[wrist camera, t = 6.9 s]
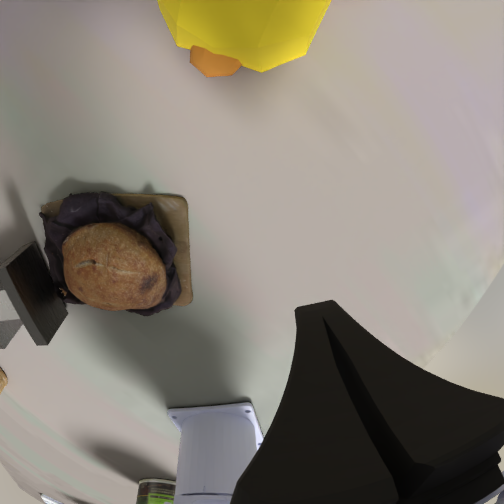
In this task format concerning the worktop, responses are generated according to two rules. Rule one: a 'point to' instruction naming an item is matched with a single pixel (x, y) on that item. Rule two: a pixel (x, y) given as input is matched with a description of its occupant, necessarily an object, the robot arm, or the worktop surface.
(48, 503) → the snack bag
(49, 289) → the grey angular piece
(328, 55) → the worktop surface
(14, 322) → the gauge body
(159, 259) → the bread roll
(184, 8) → the yellow banana
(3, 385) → the sprinkles bottle
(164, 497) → the coffee can
